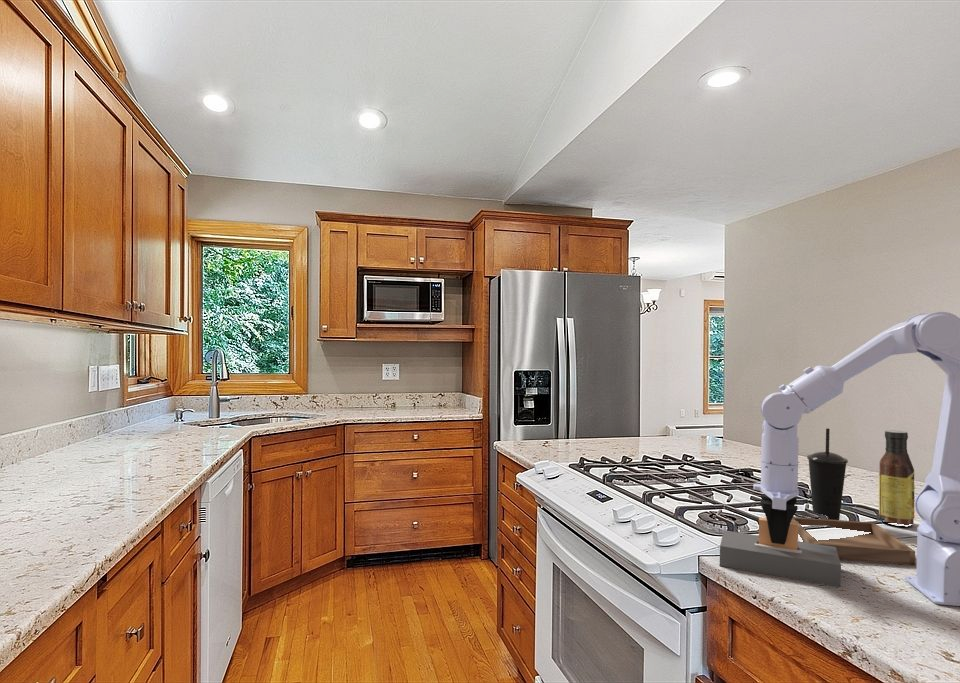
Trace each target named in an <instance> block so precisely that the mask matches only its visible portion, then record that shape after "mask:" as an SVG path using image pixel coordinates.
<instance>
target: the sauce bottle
mask: <svg viewBox="0 0 960 683" xmlns="http://www.w3.org/2000/svg"><path fill="white" fill-rule="evenodd" d="M884 438H885V453H884V454H883V455H882V457H881V458H880V460H879V466H878V467H879V473H878V514H879V516H880V515H881V516H882V518H883V519H884V520H885V521H888V522H891V523H897V524H904V525H909V524H913V525H914V523H915V522H914V519H915V499H916V497H915V488H916V486H915V468H914V466H913V464H912V460H911V458H910V455H909V453H908V443H907V442H908V441H907V440H908V438H909V434H908V432H907V431H904V430H894V429H891V430H887V429H886V430H885V431H884Z"/></svg>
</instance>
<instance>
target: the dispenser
mask: <svg viewBox="0 0 960 683" xmlns="http://www.w3.org/2000/svg"><path fill="white" fill-rule="evenodd" d="M719 566H720V567H725V568H730V569H734V570H735V569H736V570H741V571H747V572H753V573H758V574H763V575H764V574H765V575H771V576H776V577H782V578H787V579H793V580H798V581H804V582H811V583H817V584H821V585H828V586H833V587H838V588H839V587H840V588H841V585H842V583H841V582H842V581H841V580H842V564H841V560H840V559H839V556H838V553H837V550H836V547H832V546H825V545H818V544H812V543H805V542H800V541H798V550H795V549H788V548H782V547H775V546H769V545H762V544H759V534H758V535H757V534H750V533H743V532H737V531H732V530H731V531H730V530H723V532H722V536H721V540H720V545H719Z"/></svg>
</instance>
